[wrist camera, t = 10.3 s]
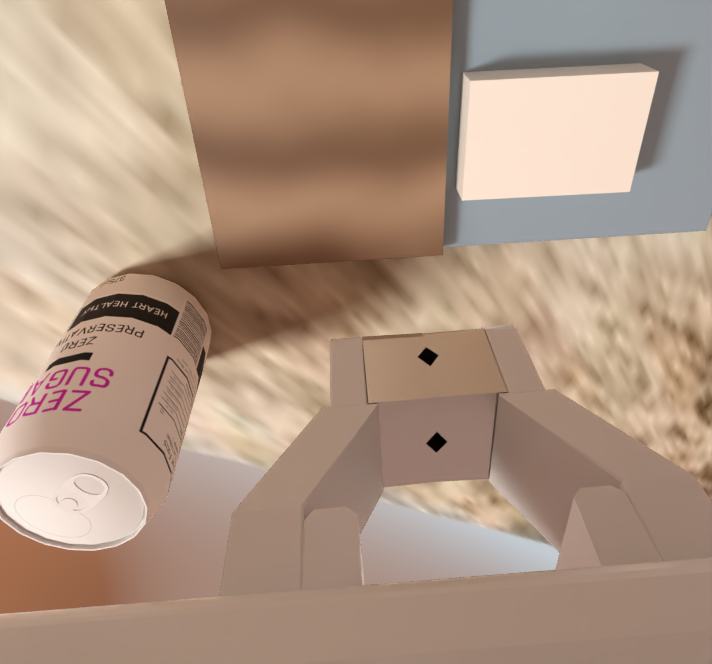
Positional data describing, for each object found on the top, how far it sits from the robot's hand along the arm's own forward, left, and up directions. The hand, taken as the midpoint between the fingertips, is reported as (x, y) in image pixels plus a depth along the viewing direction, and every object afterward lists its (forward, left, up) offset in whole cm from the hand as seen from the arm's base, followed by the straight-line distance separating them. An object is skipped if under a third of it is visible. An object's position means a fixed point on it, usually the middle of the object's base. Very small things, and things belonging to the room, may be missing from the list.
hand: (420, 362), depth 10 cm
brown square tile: (+3, -2, -25) cm, 25 cm away
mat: (+3, +12, -25) cm, 28 cm away
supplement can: (+15, -15, -25) cm, 33 cm away
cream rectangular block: (+3, +10, -24) cm, 26 cm away
